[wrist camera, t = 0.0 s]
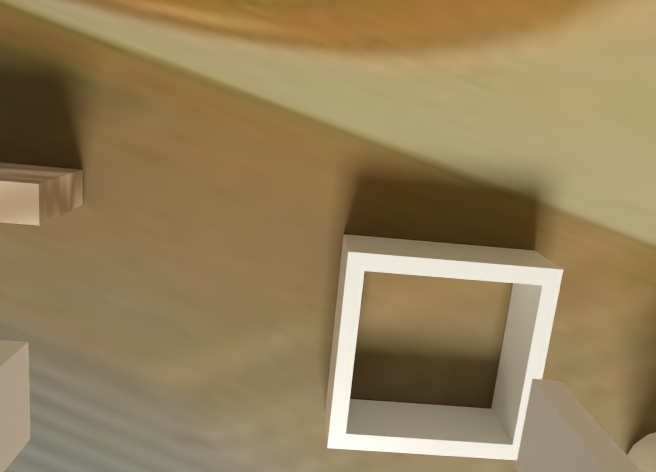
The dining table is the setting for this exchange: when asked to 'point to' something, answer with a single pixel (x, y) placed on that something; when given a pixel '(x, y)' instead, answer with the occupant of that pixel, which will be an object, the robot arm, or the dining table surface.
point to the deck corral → (439, 420)
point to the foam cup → (644, 453)
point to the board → (38, 192)
